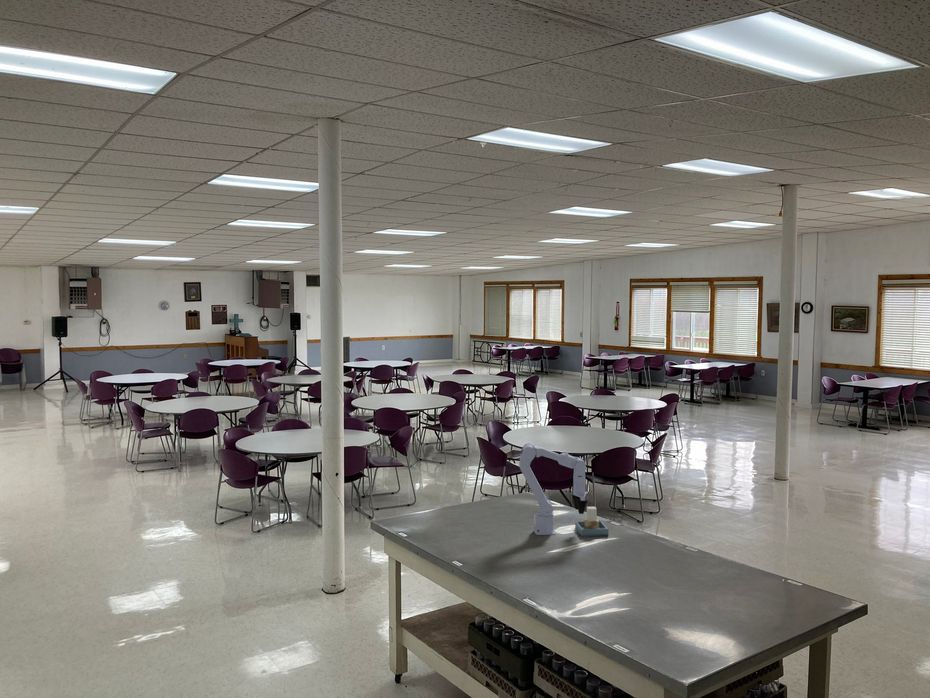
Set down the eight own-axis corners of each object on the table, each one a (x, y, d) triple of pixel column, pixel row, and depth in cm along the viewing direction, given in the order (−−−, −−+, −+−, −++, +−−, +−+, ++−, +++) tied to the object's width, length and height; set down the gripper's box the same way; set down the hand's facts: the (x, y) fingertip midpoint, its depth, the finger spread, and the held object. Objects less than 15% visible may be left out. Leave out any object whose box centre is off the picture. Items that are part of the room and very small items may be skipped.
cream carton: (588, 521, 327) (588, 509, 327) (586, 518, 331) (586, 506, 331) (596, 521, 327) (596, 508, 327) (594, 518, 331) (594, 506, 331)
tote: (581, 536, 323) (581, 529, 322) (575, 528, 336) (575, 521, 335) (608, 536, 323) (608, 528, 323) (601, 527, 336) (601, 520, 336)
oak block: (586, 531, 327) (586, 521, 327) (584, 528, 332) (584, 518, 332) (598, 531, 327) (598, 521, 327) (596, 528, 332) (596, 518, 332)
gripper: (591, 487, 321) (591, 515, 322) (583, 479, 335) (583, 506, 336) (576, 487, 320) (576, 516, 321) (569, 480, 335) (569, 507, 336)
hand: (579, 511), depth 329 cm, fingers open, 7 cm apart
